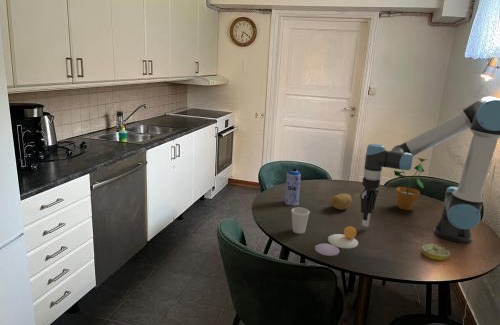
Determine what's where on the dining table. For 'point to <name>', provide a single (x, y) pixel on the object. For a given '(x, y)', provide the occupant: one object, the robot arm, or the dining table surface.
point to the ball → (350, 232)
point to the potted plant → (408, 190)
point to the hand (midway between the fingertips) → (365, 225)
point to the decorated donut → (435, 252)
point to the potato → (341, 201)
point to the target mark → (342, 241)
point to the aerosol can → (292, 187)
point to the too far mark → (327, 249)
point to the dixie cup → (299, 219)
